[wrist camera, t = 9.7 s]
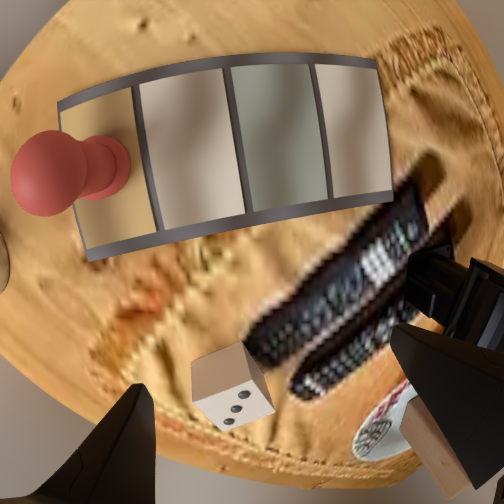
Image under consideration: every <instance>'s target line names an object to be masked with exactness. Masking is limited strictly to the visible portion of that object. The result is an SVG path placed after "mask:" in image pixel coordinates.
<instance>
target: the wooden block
mask: <svg viewBox="0 0 504 504" xmlns="http://www.w3.org/2000/svg"><path fill="white" fill-rule="evenodd" d="M399 430H400V431H401V433H402V434H403V436H404V437H405V439H406V440H407V441H408V443H409V444H410V446H411V447H412V449H413V450H414V451H415V453H416V454H417V456H418V457H419V459H420V460H421V461H422V463H423V464H424V466H425V467H426V469H427V470H428V471H429V473H430V475H431V476H432V477H433V479H434V480H435V482H436V483H437V485H438V486H439V488H440V489H441V491H442V492H443V493H444V495H445V496H446V498H447V499H448V500H450V499H452V498H453V497H455V496H456V495H458V494H459V493H460V492H462V491H463V490H464V489H466V488H467V487H468V486H470V485H471V484H472V483H471V481H470V480H469V478H468V476H467V474H466V472H465V471H464V469H463V467H462V465H461V463H460V462H459V460H458V458H457V457H456V455H455V454H456V453H454V451H453V449H452V448H451V446H450V444H449V443H448V441H447V439H446V438H445V436H444V434H443V433H442V431H441V430H440V428H439V426H438V425H437V423H436V422H435V420H434V418H433V417H432V415H431V414H430V412H429V410H428V409H427V407H426V406H425V404H424V403H423V401H422V400H421V398H420V397H419V396H417V397H415V398H414V399H412V400H411V401H409V402H408V403H407V407H406V410H405V413H404V416H403V419H402V422H401V425H400V428H399Z"/></svg>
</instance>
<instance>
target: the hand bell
mask: <svg viewBox="0 0 504 504" xmlns="http://www.w3.org/2000/svg"><path fill="white" fill-rule="evenodd" d="M8 278H9V260H8V253H7V249H6V245H5V242H4V239H3V237H2V234H1V232H0V294H1V293H2V292H3V290H4V289H5V287H6V285H7V282H8Z"/></svg>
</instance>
